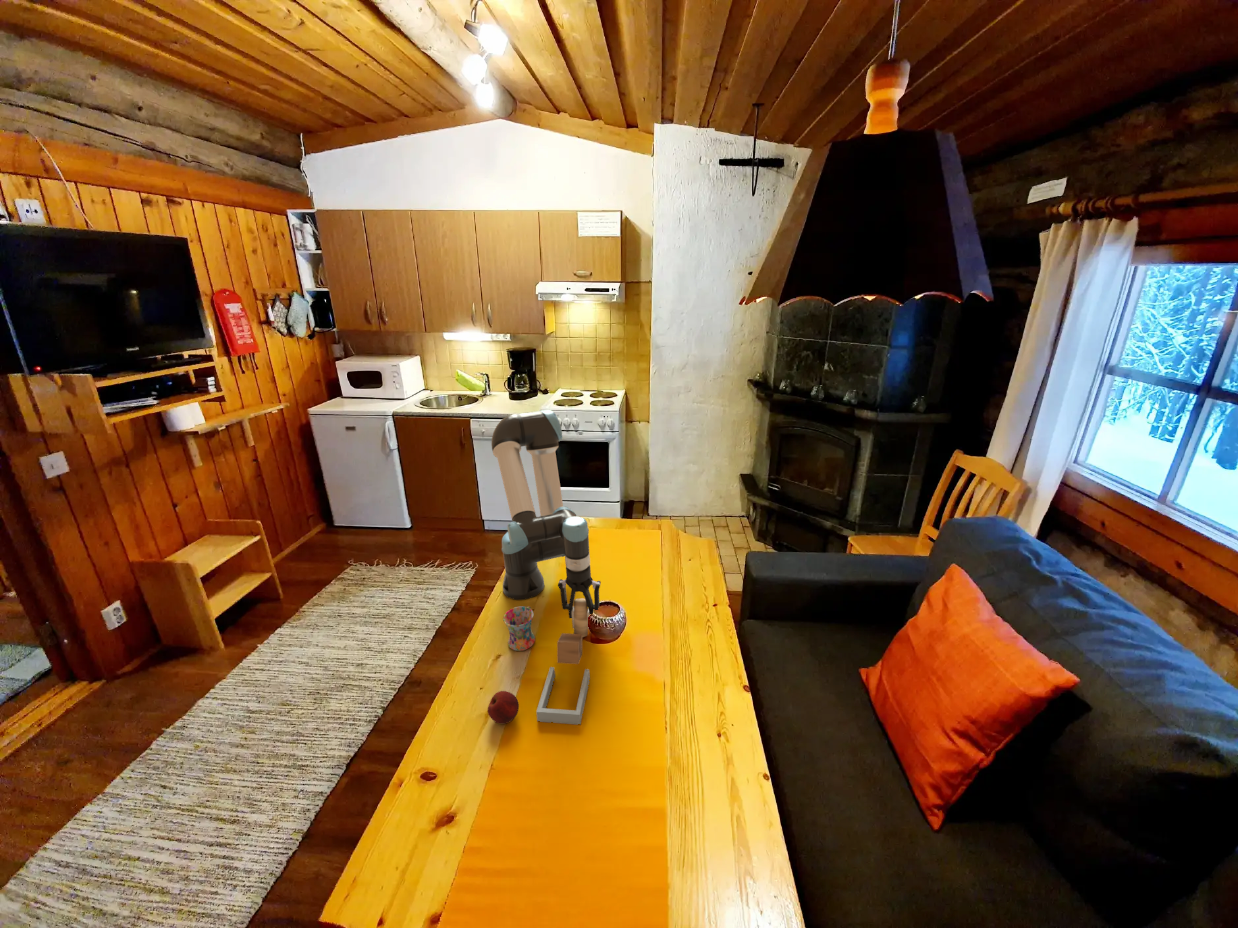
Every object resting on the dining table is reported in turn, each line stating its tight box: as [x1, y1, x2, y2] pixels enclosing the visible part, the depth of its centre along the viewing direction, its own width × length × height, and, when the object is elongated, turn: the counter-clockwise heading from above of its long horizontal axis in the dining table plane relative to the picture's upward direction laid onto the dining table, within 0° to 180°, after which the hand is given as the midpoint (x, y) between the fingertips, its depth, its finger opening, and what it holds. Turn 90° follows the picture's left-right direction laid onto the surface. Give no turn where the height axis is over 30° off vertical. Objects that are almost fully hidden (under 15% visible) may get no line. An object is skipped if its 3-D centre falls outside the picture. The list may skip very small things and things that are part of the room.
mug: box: [502, 605, 536, 652], centre depth 153 cm, size 12×9×11 cm
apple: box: [487, 690, 520, 725], centre depth 127 cm, size 7×8×8 cm
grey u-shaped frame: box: [535, 666, 591, 725], centre depth 132 cm, size 15×11×4 cm
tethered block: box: [556, 597, 589, 665], centre depth 146 cm, size 22×6×11 cm, turn 174°
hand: (582, 625), depth 158 cm, fingers closed on tethered block, 4 cm apart
